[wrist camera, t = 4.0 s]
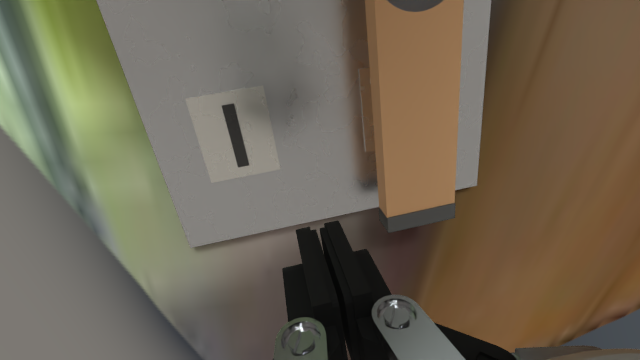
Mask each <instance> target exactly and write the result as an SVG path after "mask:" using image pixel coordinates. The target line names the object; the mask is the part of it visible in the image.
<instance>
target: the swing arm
mask: <svg viewBox="0 0 640 360" xmlns="http://www.w3.org/2000/svg"><path fill="white" fill-rule="evenodd" d="M463 7H464V0H365V10H366V24H367V39H368V53H369V68H370V82H371V96H372V111H373V125H374V140H375V154H376V169H377V183H378V198H379V218H380V221H381V223H382V224H383V226H384V227H385V229H386V230H387V232H388V233H391V232H395V231H399V230H404V229H408V228H413V227H417V226H421V225H426V224H430V223H434V222H439V221H443V220H448V219H452V218H455V182H456V160H457V138H458V116H459V95H460V73H461V51H462V29H463Z"/></svg>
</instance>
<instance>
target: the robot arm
mask: <svg viewBox="0 0 640 360" xmlns="http://www.w3.org/2000/svg"><path fill="white" fill-rule="evenodd" d="M324 226H325V227H324V228H320V234H321V240H322V246H323V250H322V247H321V244H320V241H319V238H318V235H317V232H316V229H315V230H310V227H307V228H302V229H297V230H296V234H297V239H298V244H299V249H300V254H301V259H302V264H299V265H295V266H290V267H286V268H283V269H282V270H283V279H284V288H285V297H286V306H287V314H288V323H287V324H285V325H284V326H283V327H282V328H281V330H280V331H279V333H278V334H277V338H276V342H275V351H274V358H273V360H348V358H347V351H346V345H345V341H346V344H347V347H348V351H349V354H350V357H351V360H640V350H637V349H600V348H597V347H593V346H560V347H536V348H515V353H509V352H508V351H506V350H504V349H502V348H500V347H498V346H496V345H493V344H490V343H488V342H485V341H482V340H480V339H477V338H474V337H472V336H469V335H466V334H463V333H461V332H458V331H455V330H453V329H450V328H447V327H445V326H442V325H439V324H436V323H434V322H433V321H432V320H431V319H430V318H429V317H428V316H427V314H426V313H425V312H424V311H423V310H422V309H421V307H420V306H419V305H418V304H417V303H416V302H415V301H413V300H412V299H410V298H408V297H406V296H401V295H392V294H391V293H390V291H389V289H388V287H387V285H386V283H385V282H384V280H383V278H382V276H381V274H380V272H379V270H378V269H377V267H376V265H375V263H374V261H373V259H372V258H371V256H370V254H369V252H368V251H367V249H363V250H359V251H355V252H353V251H352V248H351V246H350V244H349V242H348V240H347V238H346V236H345V234H344V231H343V229H342V227H341V225H340V223H339V221H334V222H329V223H325V224H324ZM323 251H324V254H323ZM344 337H345V339H344Z"/></svg>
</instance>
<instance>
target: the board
mask: <svg viewBox="0 0 640 360" xmlns="http://www.w3.org/2000/svg"><path fill="white" fill-rule="evenodd" d="M96 1H97V3H98V6H99V9H100V11H101V14H102V17H103V19H104V22H105V24H106V27H107V30H108V32H109V35H110V38H111V40H112V43H113V45H114V48H115V51H116V53H117V56H118V59H119V61H120V64H121V67H122V69H123V72H124V74H125V77H126V80H127V82H128V85H129V88H130V90H131V93H132V95H133V98H134V101H135V103H136V106H137V109H138V111H139V114H140V116H141V119H142V122H143V124H144V127H145V130H146V132H147V135H148V137H149V140H150V143H151V145H152V148H153V151H154V153H155V156H156V159H157V161H158V164H159V166H160V169H161V172H162V174H163V177H164V180H165V182H166V185H167V187H168V190H169V193H170V195H171V198H172V201H173V203H174V206H175V208H176V211H177V214H178V216H179V219H180V222H181V224H182V227H183V229H184V232H185V235H186V237H187V240H188V243H189V245H190V248H192V247H197V246H202V245H206V244H211V243H215V242H220V241H225V240H229V239H234V238H238V237H243V236H247V235H252V234H257V233H261V232H266V231H270V230H275V229H280V228H284V227H289V226H293V225H298V224H303V223H307V222H312V221H316V220H321V219H326V218H330V217H335V216H339V215H344V214H348V213H353V212H358V211H362V210H367V209H371V208H376V207H379V198H378V183H377V169H376V154H375V140H374V125H373V111H372V96H371V82H370V68H369V53H368V39H367V24H366V10H365V0H96ZM490 9H491V0H464V7H463V29H462V51H461V73H460V95H459V116H458V138H457V160H456V182H455V190H459V189H463V188H468V187H472V186H477V177H478V164H479V151H480V138H481V125H482V112H483V99H484V86H485V73H486V60H487V48H488V35H489V22H490Z"/></svg>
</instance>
